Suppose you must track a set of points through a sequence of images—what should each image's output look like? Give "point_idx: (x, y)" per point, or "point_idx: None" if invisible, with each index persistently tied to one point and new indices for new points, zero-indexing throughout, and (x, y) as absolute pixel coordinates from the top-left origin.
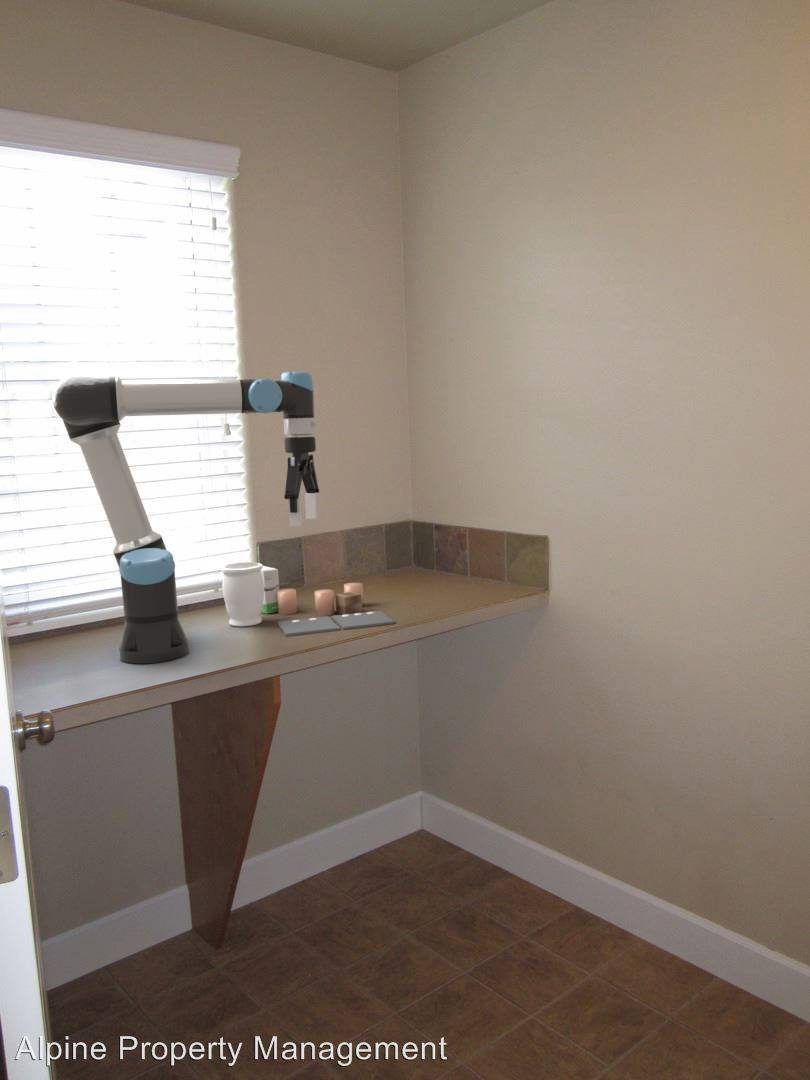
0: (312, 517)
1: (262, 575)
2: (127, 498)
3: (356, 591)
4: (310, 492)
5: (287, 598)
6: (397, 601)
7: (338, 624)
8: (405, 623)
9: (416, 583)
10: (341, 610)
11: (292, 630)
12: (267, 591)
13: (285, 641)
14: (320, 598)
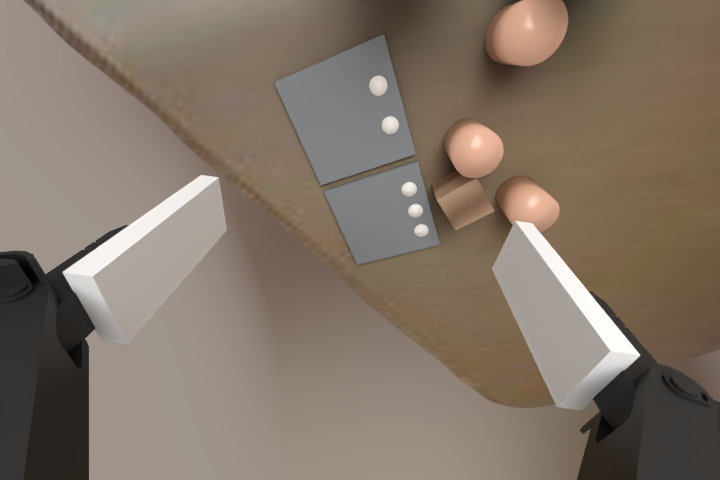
0: (502, 258)
1: None
2: None
3: (508, 217)
4: (611, 392)
5: (498, 41)
6: None
7: (361, 178)
8: (358, 275)
9: (678, 295)
10: (446, 179)
11: (300, 92)
12: None
13: (237, 88)
14: (453, 144)
